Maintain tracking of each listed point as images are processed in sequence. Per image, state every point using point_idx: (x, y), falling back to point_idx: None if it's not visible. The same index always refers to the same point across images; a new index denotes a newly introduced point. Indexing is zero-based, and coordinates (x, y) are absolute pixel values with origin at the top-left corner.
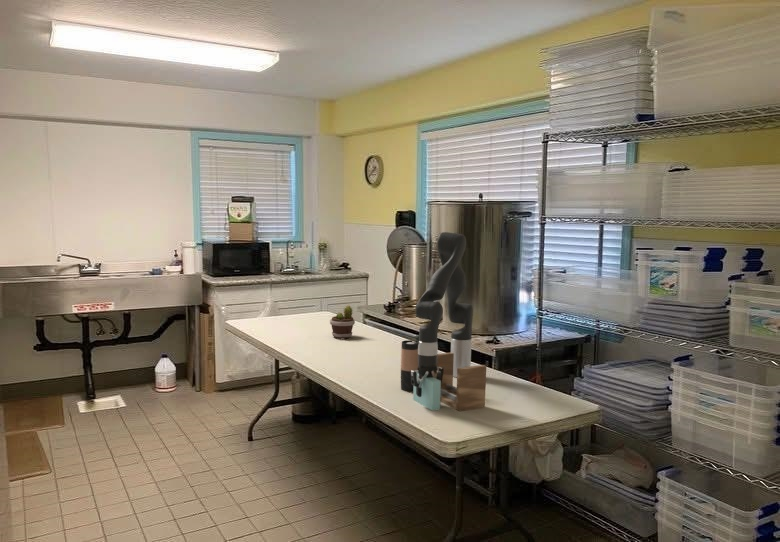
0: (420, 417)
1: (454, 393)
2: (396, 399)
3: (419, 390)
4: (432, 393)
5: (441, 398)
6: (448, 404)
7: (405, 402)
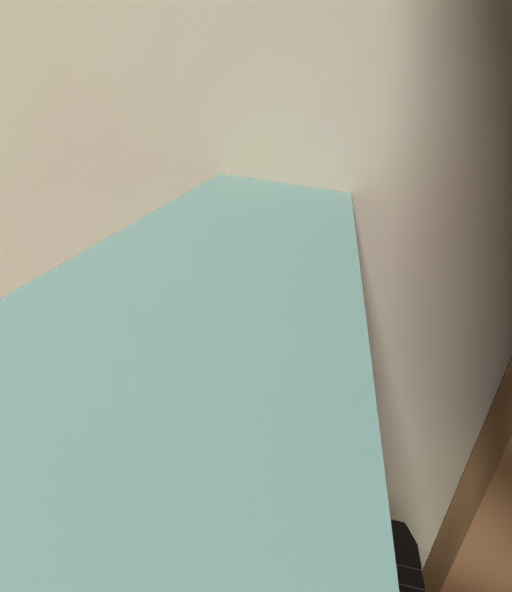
0: None
1: None
2: (6, 18)
3: None
4: None
5: (490, 476)
6: (433, 562)
7: (69, 209)
